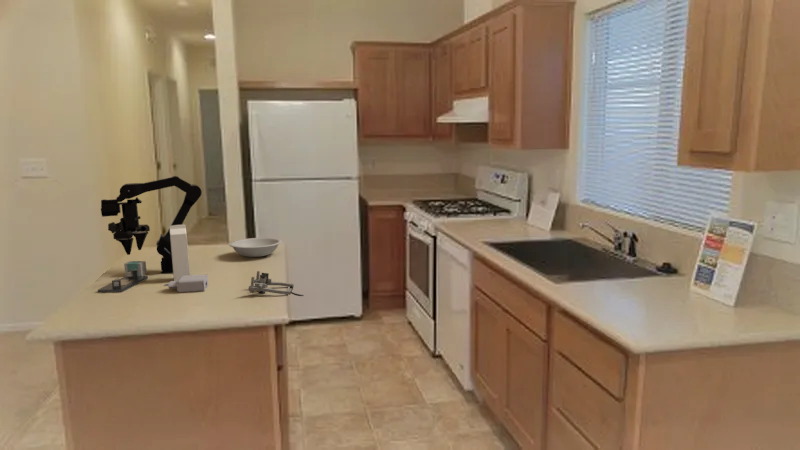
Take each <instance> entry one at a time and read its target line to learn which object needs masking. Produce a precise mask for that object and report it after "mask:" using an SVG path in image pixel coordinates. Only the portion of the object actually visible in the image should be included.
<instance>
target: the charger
mask: <svg viewBox="0 0 800 450" xmlns="http://www.w3.org/2000/svg"><path fill="white" fill-rule="evenodd" d="M208 277H209V276H208V274H190V275H188V276H182V277H180V278H179V279H178V281H174V280H171V281H169V282H168V283H164V284H163V287H168V289H170V290H171V289H177V290H176V291H177V292H178V293H179V294H181V293H197V292H205V291H206V289H207V288H208V286H209V280H208Z"/></svg>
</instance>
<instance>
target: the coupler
mask: <svg viewBox="0 0 800 450" xmlns="http://www.w3.org/2000/svg"><path fill="white" fill-rule="evenodd" d="M123 265H124V266H123V267H124V277H125V276H127V272H128V271H129V270H133V269H138V273H137V276H146V275H147V273H148V272H147V262H146V260H143V261H142V260H141V261H140V260H129V261H127V262H125V263H124V264H123Z"/></svg>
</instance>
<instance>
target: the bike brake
mask: <svg viewBox="0 0 800 450" xmlns="http://www.w3.org/2000/svg"><path fill="white" fill-rule="evenodd" d="M260 273H261V274H260ZM268 286H279V287H280V286H281V287H288V288H289V289H288V290H282V289H275V288H271V287H268ZM294 287H295V284H294V283H289V282H288V283H287V282H282V281H272V278H269V273H267V272H261V271H260V270H257V271H256V277H255V276H251V281H250V285H249V286H248V290H249V293H250V294H253V293H254V292H255V291H257V293H258V294H261V295H262V294H266V292H267V293H272V294H277V295H278V294H279V295H280V294H281V295H288V296H289V295H294V296H298V297H304V294H299V293H296V292H293V290H294Z"/></svg>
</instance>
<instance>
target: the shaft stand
mask: <svg viewBox="0 0 800 450" xmlns="http://www.w3.org/2000/svg"><path fill="white" fill-rule="evenodd" d="M137 273H138V269H133V270H129V271H128V272H127V276H125V275H124V276H122V277H121V278H119V277H118V278H117V277H116V278H114V279H112V280H111V283H109V284H106V285H105V286H103V287H101V288H98V289H97V293H123V292H125V291H127V290H129V289H131V288H132V287H134V286H136V285H138V284H140V283H142V282H144V281H145V280H147V279H148V278H149V276H148V275H143V276H137Z"/></svg>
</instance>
